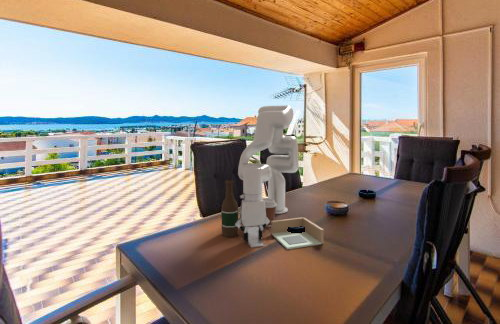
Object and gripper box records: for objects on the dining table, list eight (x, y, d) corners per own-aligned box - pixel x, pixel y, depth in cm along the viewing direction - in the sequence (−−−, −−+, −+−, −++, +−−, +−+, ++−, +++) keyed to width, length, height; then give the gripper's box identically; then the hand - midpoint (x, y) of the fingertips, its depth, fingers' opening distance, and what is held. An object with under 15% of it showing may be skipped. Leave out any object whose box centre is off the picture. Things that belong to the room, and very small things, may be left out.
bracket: (246, 241, 110) (246, 227, 109) (258, 240, 111) (258, 226, 111) (251, 247, 104) (251, 232, 104) (263, 245, 106) (263, 231, 105)
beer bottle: (241, 231, 120) (241, 179, 118) (235, 238, 113) (234, 182, 110) (225, 229, 123) (224, 178, 120) (218, 236, 116) (217, 181, 113)
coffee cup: (254, 224, 130) (254, 200, 128) (266, 219, 136) (266, 196, 135) (268, 229, 123) (268, 204, 122) (280, 224, 130) (280, 200, 128)
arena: (271, 234, 118) (271, 221, 117) (303, 229, 122) (303, 217, 122) (287, 249, 102) (287, 234, 102) (323, 243, 107) (323, 229, 107)
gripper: (234, 201, 102) (235, 246, 104) (275, 197, 107) (275, 241, 109) (229, 196, 109) (230, 239, 111) (268, 193, 114) (268, 234, 116)
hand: (252, 239), depth 110 cm, fingers closed on bracket, 5 cm apart
